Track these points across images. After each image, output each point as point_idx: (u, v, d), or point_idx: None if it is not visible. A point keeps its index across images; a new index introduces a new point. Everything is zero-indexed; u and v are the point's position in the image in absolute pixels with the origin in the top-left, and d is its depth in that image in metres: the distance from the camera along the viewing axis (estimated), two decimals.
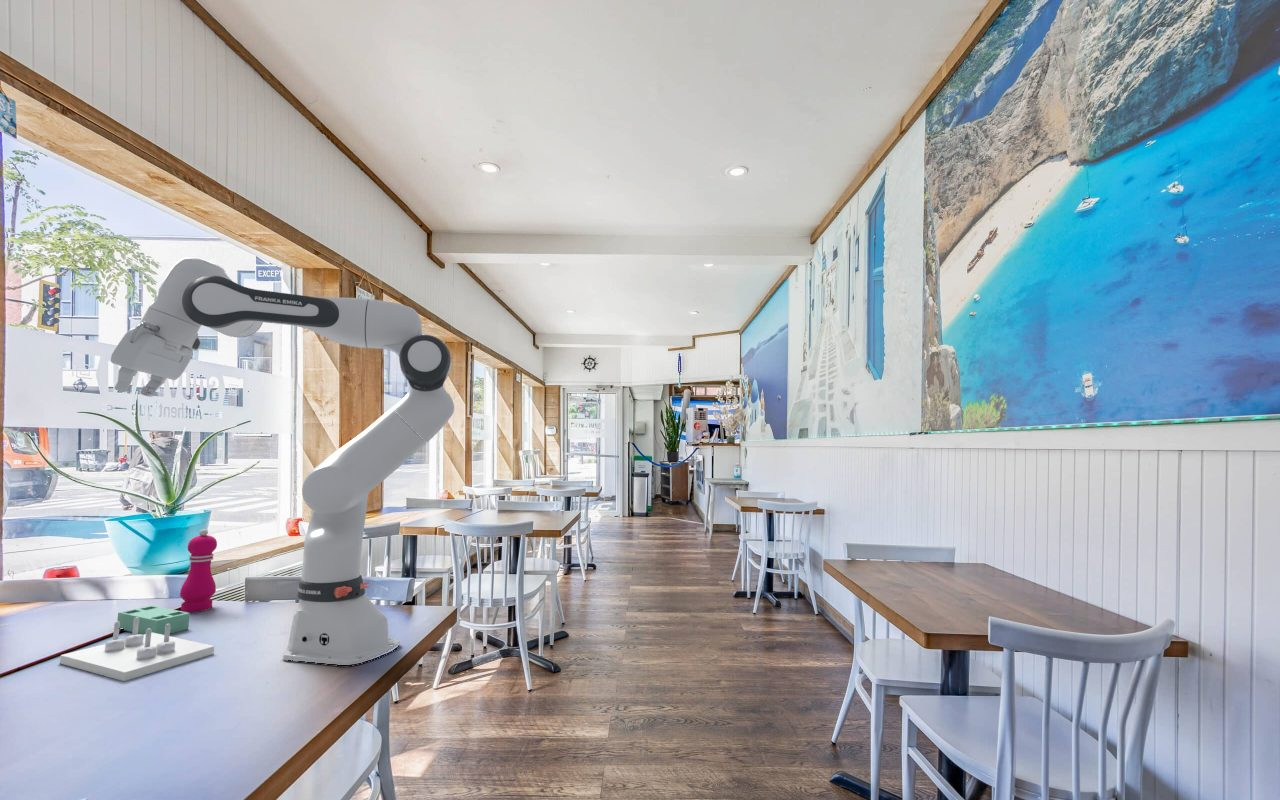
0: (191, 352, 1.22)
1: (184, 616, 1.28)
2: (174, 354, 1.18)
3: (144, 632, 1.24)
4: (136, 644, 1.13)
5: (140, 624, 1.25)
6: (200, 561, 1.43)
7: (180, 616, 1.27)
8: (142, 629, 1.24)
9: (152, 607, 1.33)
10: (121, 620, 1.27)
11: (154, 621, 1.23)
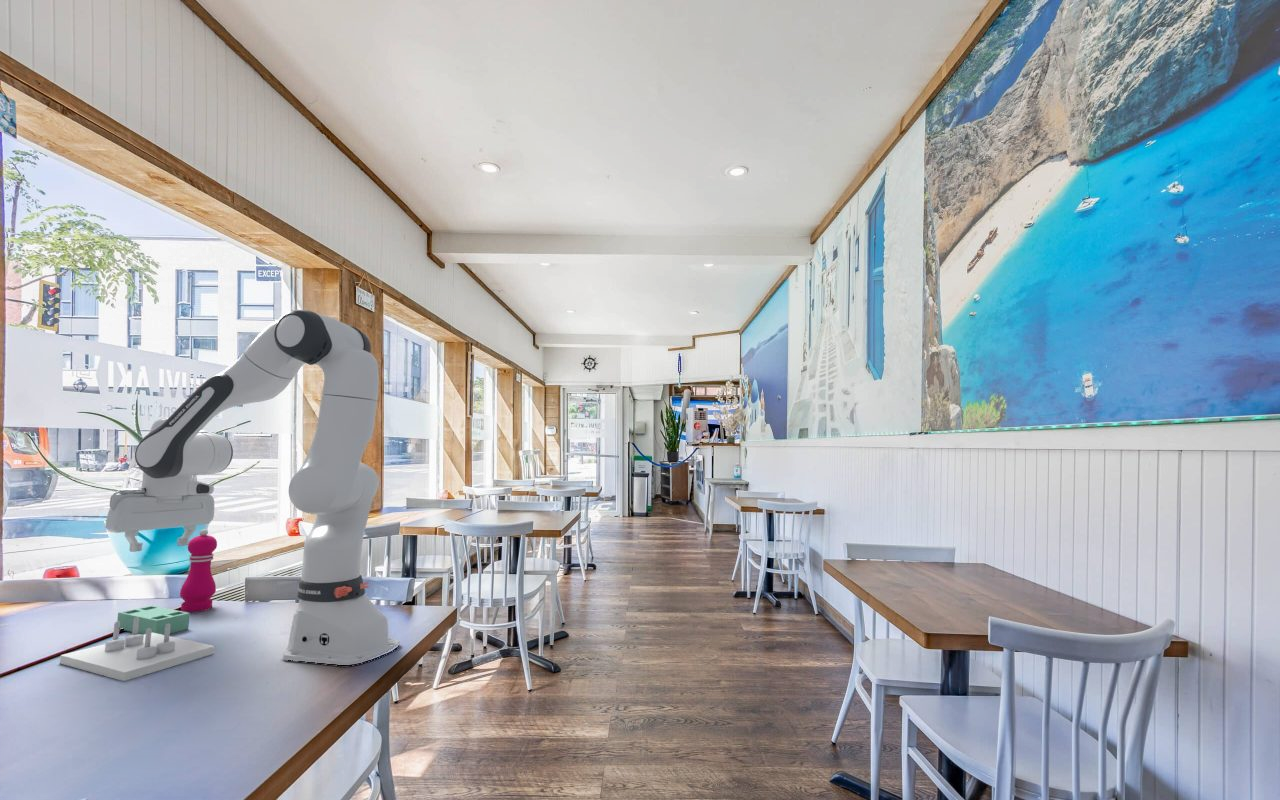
0: (206, 496, 1.36)
1: (184, 616, 1.28)
2: (185, 504, 1.33)
3: (144, 632, 1.24)
4: (136, 644, 1.13)
5: (140, 624, 1.25)
6: (200, 561, 1.43)
7: (180, 616, 1.27)
8: (142, 629, 1.24)
9: (152, 607, 1.33)
10: (121, 620, 1.27)
11: (154, 621, 1.23)
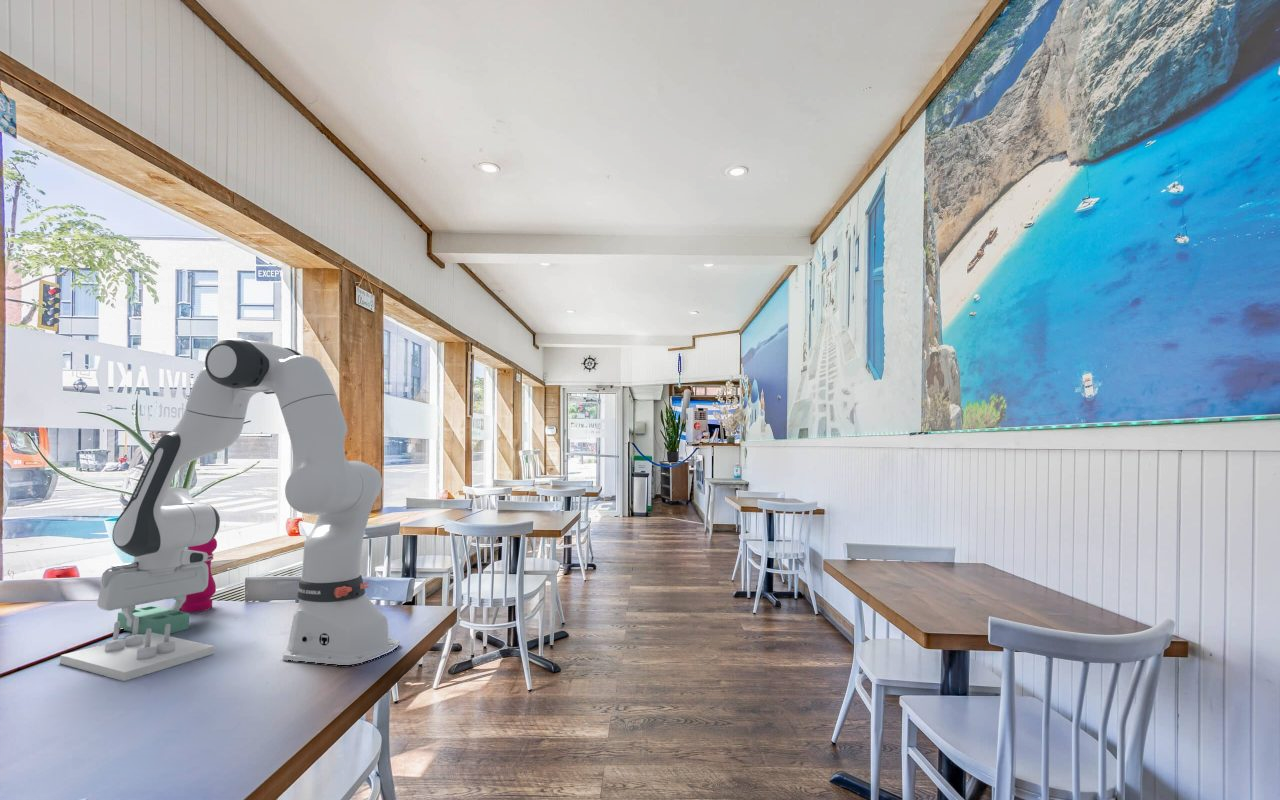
0: (200, 564, 1.35)
1: (184, 616, 1.28)
2: (179, 574, 1.32)
3: (144, 632, 1.24)
4: (136, 644, 1.13)
5: (140, 624, 1.25)
6: None
7: (180, 616, 1.27)
8: (142, 629, 1.24)
9: (152, 607, 1.33)
10: (121, 620, 1.27)
11: (154, 621, 1.23)
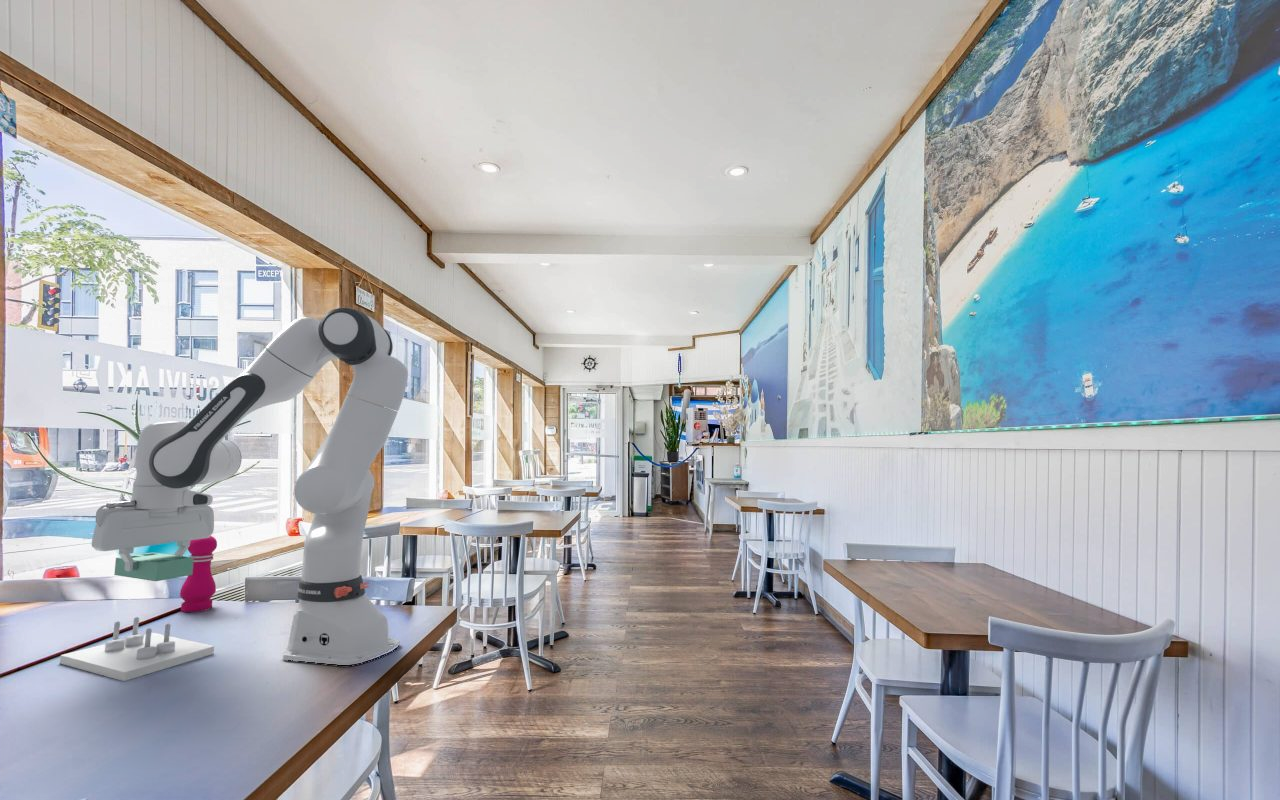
0: (204, 508, 1.24)
1: (187, 561, 1.16)
2: (182, 516, 1.20)
3: (144, 577, 1.13)
4: (136, 644, 1.13)
5: (140, 568, 1.13)
6: (200, 561, 1.43)
7: (183, 560, 1.16)
8: (142, 573, 1.13)
9: (153, 554, 1.22)
10: (119, 565, 1.16)
11: (154, 564, 1.12)
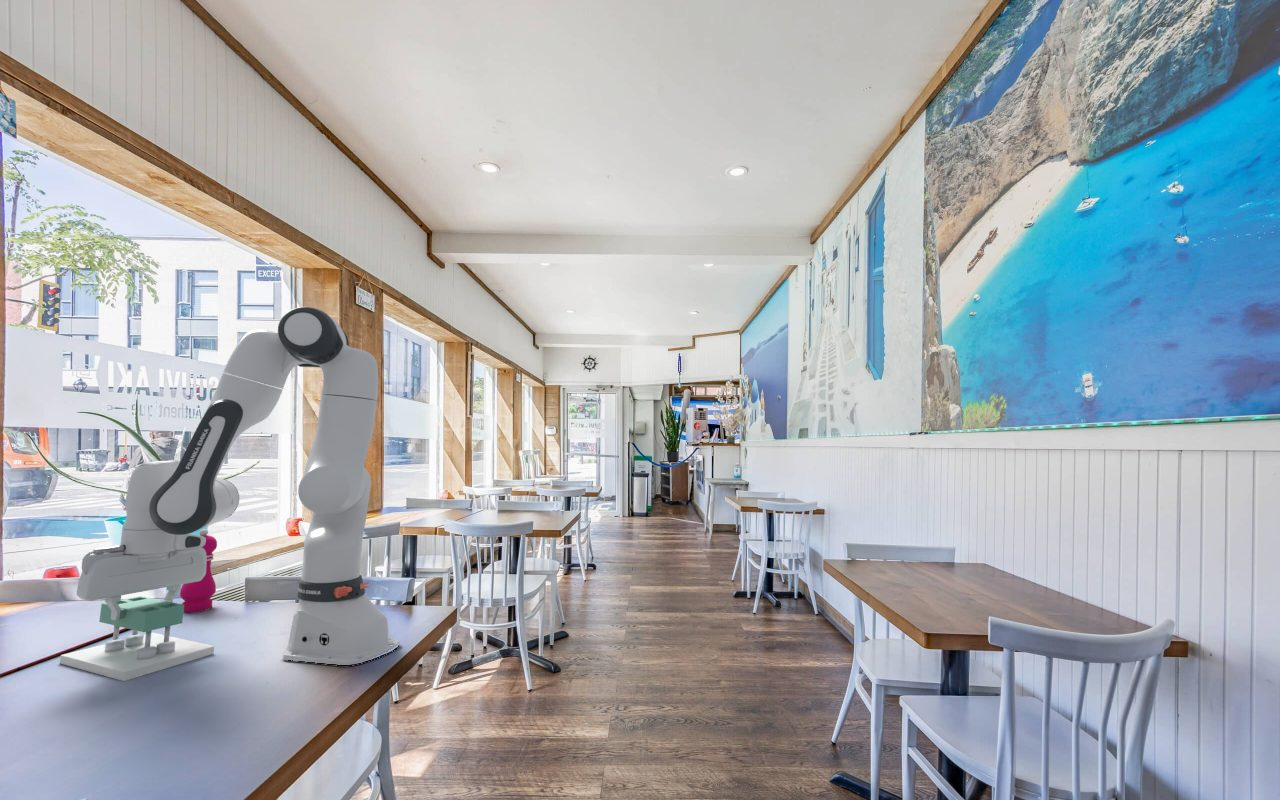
0: (197, 550, 1.18)
1: (178, 608, 1.11)
2: (173, 560, 1.15)
3: (131, 626, 1.07)
4: (136, 644, 1.13)
5: (127, 617, 1.08)
6: None
7: (173, 608, 1.10)
8: (129, 623, 1.07)
9: (141, 598, 1.16)
10: (105, 612, 1.10)
11: (143, 613, 1.06)
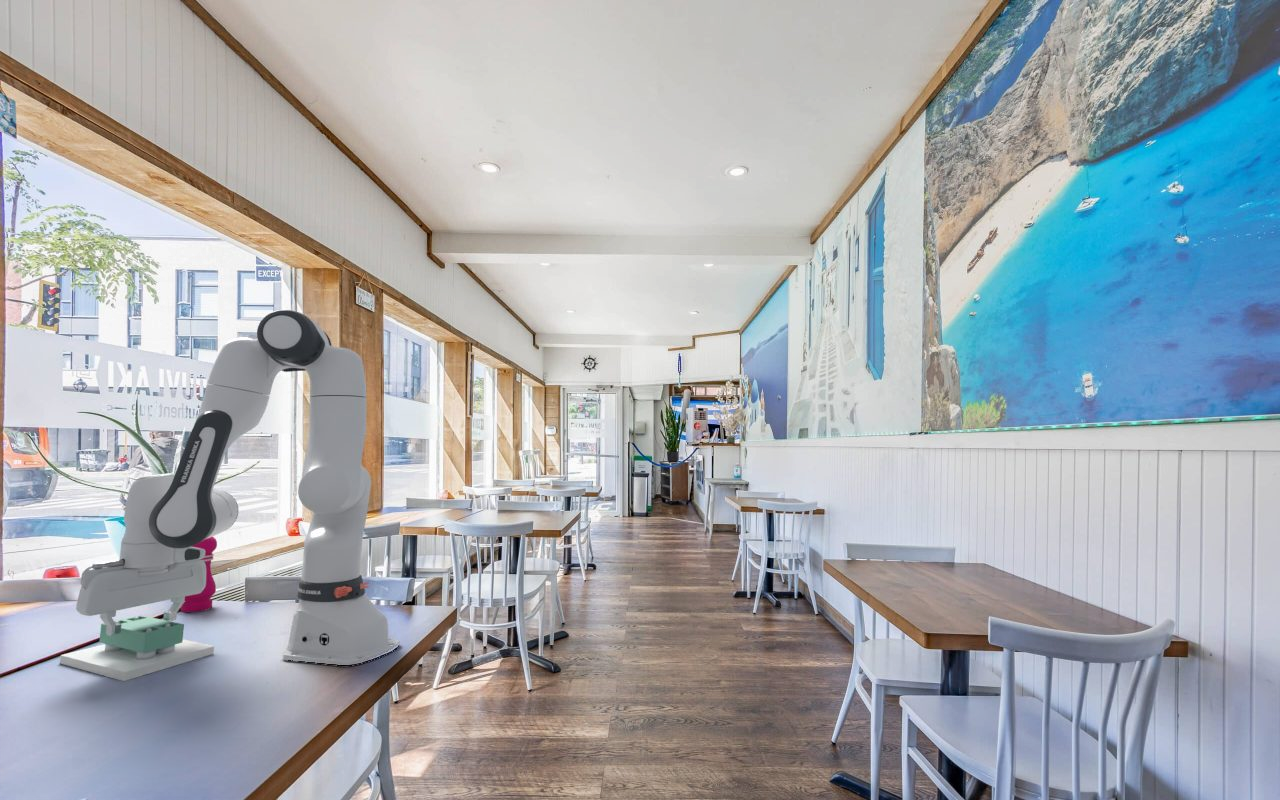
0: (196, 562, 1.18)
1: (177, 628, 1.11)
2: (172, 573, 1.15)
3: (131, 647, 1.07)
4: None
5: (127, 637, 1.07)
6: None
7: (173, 628, 1.10)
8: (129, 643, 1.07)
9: (141, 617, 1.16)
10: (105, 633, 1.10)
11: (142, 634, 1.06)
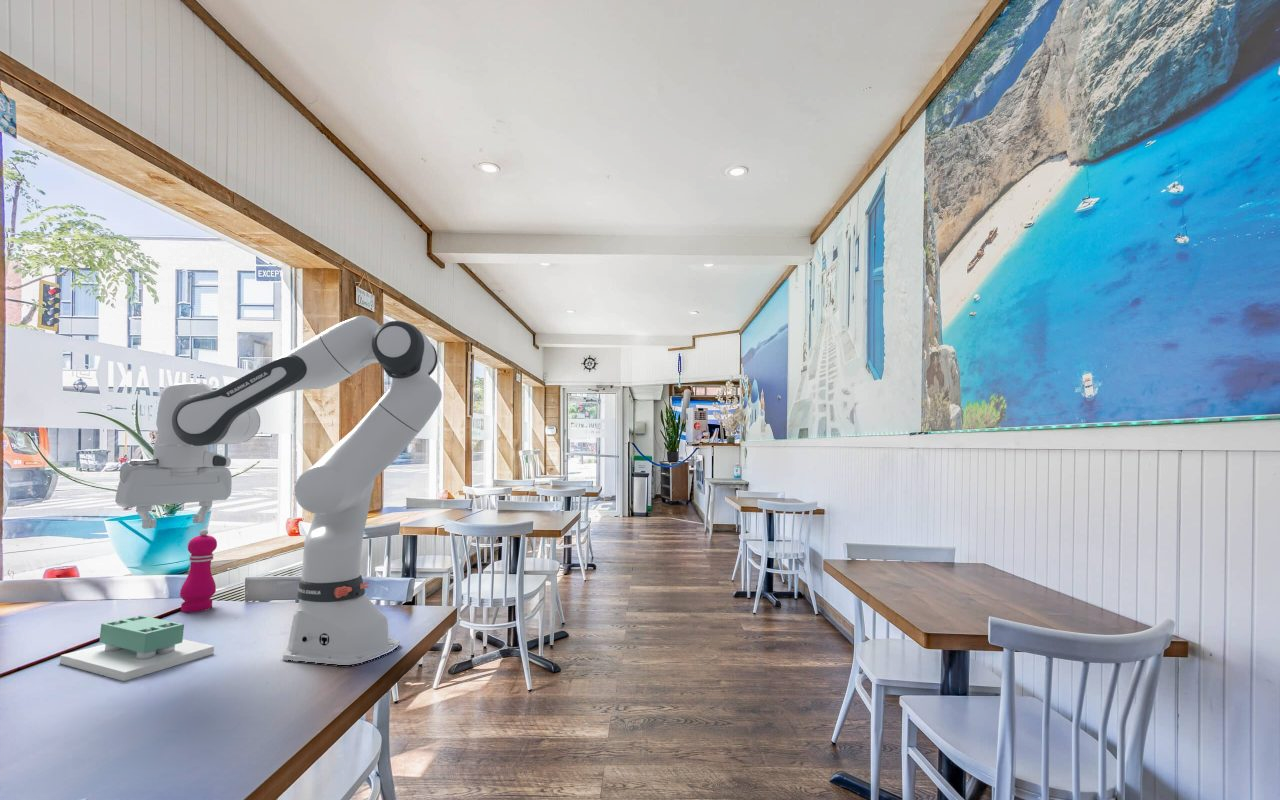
0: (223, 469, 1.25)
1: (177, 628, 1.11)
2: (201, 477, 1.22)
3: (131, 647, 1.07)
4: None
5: (127, 637, 1.07)
6: (200, 561, 1.43)
7: (173, 628, 1.10)
8: (129, 643, 1.07)
9: (141, 617, 1.16)
10: (105, 633, 1.10)
11: (142, 634, 1.06)
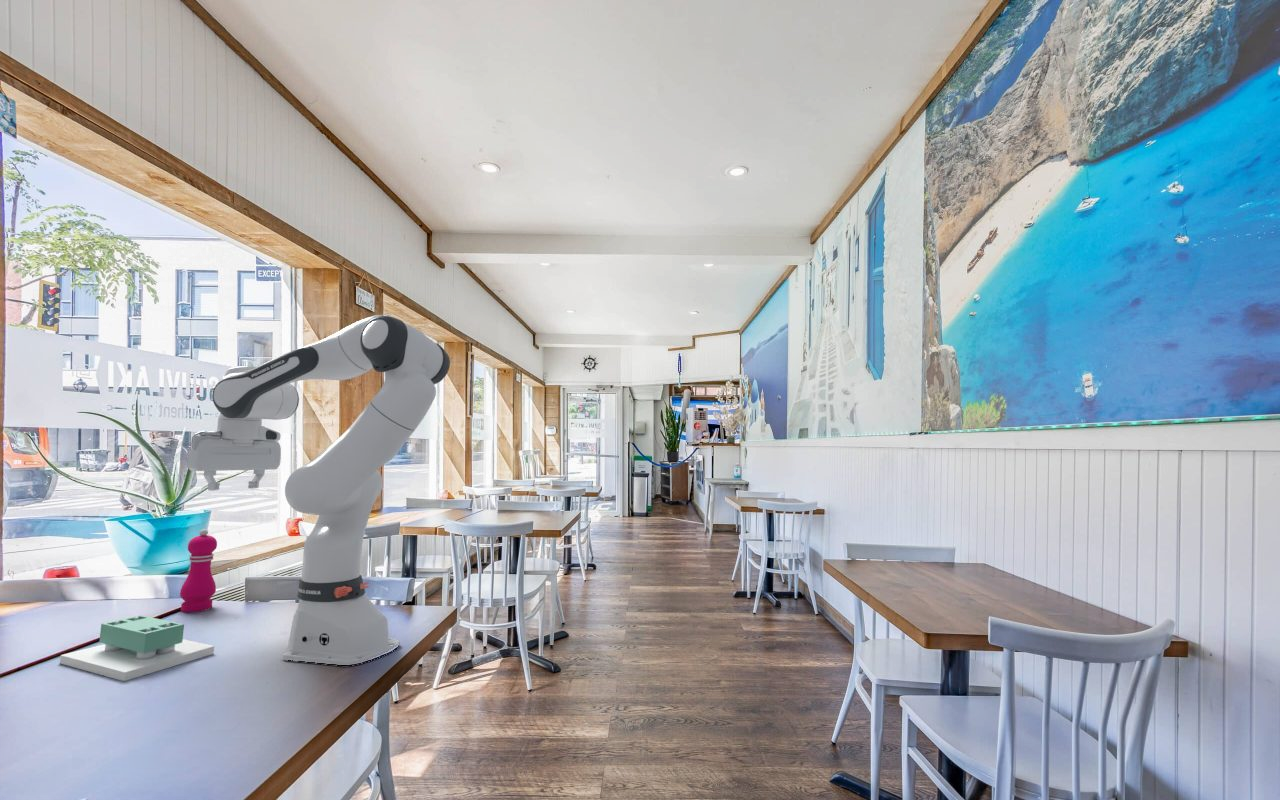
0: (274, 443, 1.44)
1: (177, 628, 1.11)
2: (256, 449, 1.41)
3: (131, 647, 1.07)
4: None
5: (127, 637, 1.07)
6: (200, 561, 1.43)
7: (173, 628, 1.10)
8: (129, 643, 1.07)
9: (141, 617, 1.16)
10: (105, 633, 1.10)
11: (142, 634, 1.06)
